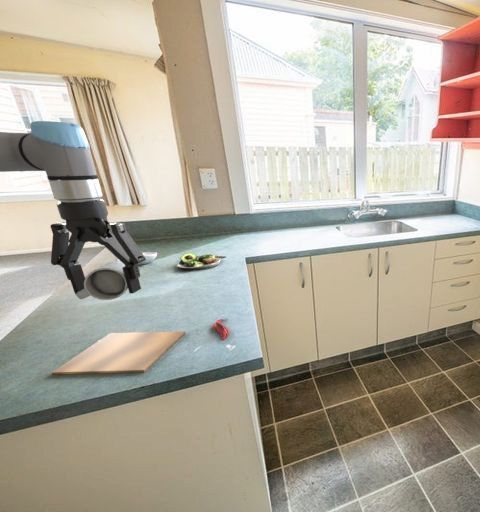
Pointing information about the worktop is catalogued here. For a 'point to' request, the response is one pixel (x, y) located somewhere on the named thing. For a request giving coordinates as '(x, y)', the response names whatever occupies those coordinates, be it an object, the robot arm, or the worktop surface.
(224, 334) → the cayenne pepper
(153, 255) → the spoon rest
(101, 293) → the ceramic mug
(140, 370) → the cutting board
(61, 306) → the worktop surface
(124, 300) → the worktop surface
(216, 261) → the salad plate
